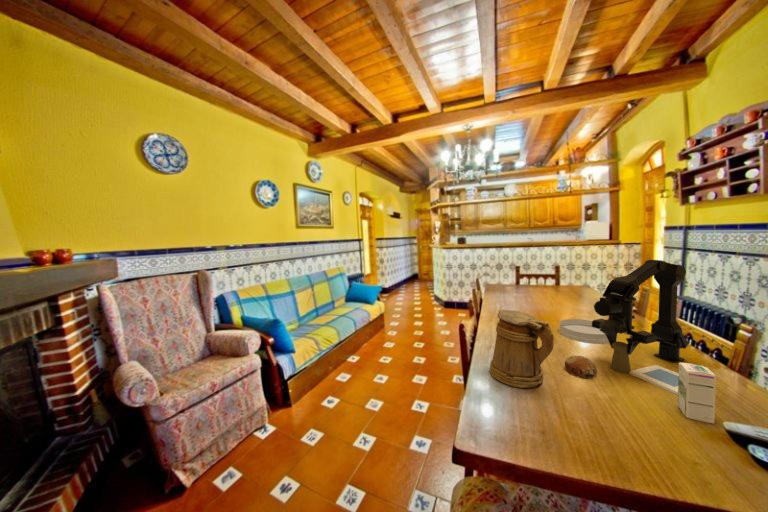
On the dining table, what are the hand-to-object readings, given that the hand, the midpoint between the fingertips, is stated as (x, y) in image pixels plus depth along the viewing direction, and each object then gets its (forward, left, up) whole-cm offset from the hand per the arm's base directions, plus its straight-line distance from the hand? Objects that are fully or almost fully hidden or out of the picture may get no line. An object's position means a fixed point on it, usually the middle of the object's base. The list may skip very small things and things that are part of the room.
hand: (621, 351), depth 100 cm
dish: (-19, -29, -8) cm, 36 cm away
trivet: (-7, +10, -8) cm, 14 cm away
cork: (0, 0, -8) cm, 8 cm away
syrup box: (+7, +24, -8) cm, 26 cm away
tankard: (+39, -8, -8) cm, 41 cm away
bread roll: (+15, -4, -8) cm, 17 cm away
